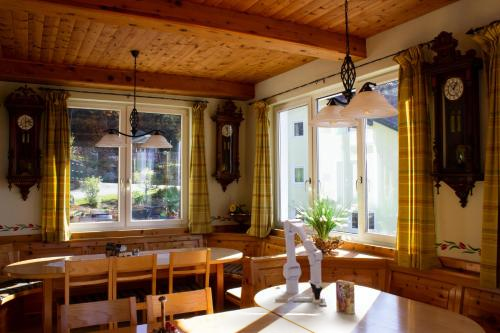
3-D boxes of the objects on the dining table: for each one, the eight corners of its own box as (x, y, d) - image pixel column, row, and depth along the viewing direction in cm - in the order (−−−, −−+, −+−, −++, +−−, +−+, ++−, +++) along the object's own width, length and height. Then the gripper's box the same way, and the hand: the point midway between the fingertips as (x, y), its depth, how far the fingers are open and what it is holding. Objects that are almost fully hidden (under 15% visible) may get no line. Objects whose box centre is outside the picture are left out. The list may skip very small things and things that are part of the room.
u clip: (311, 300, 235) (311, 292, 236) (318, 300, 235) (318, 291, 236) (313, 303, 230) (312, 294, 230) (320, 302, 230) (320, 294, 230)
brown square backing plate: (275, 300, 239) (275, 298, 239) (288, 300, 238) (287, 298, 238) (274, 304, 231) (274, 302, 231) (287, 304, 230) (287, 303, 230)
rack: (292, 299, 240) (292, 294, 240) (324, 299, 238) (324, 294, 238) (292, 306, 228) (292, 300, 228) (326, 306, 226) (326, 301, 226)
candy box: (355, 312, 215) (354, 282, 216) (350, 314, 213) (349, 283, 213) (341, 308, 222) (340, 279, 223) (336, 310, 219) (335, 280, 220)
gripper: (306, 270, 240) (307, 294, 240) (310, 276, 226) (310, 301, 226) (319, 269, 240) (319, 294, 240) (323, 275, 226) (324, 301, 226)
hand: (316, 297), depth 233 cm, fingers open, 6 cm apart
